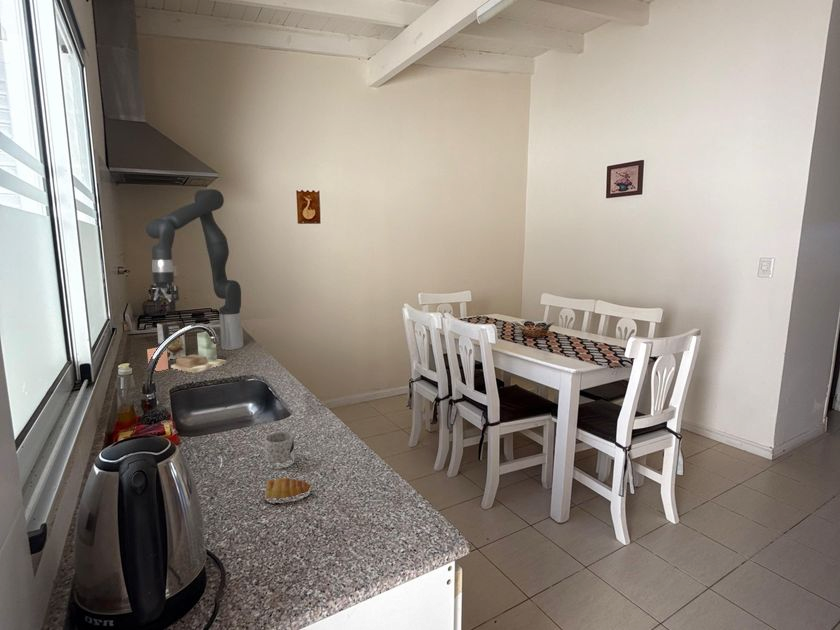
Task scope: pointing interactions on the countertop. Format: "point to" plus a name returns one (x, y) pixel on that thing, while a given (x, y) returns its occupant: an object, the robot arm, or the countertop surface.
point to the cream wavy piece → (200, 356)
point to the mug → (279, 447)
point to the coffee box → (176, 346)
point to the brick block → (162, 360)
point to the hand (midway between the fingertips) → (165, 310)
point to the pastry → (285, 488)
